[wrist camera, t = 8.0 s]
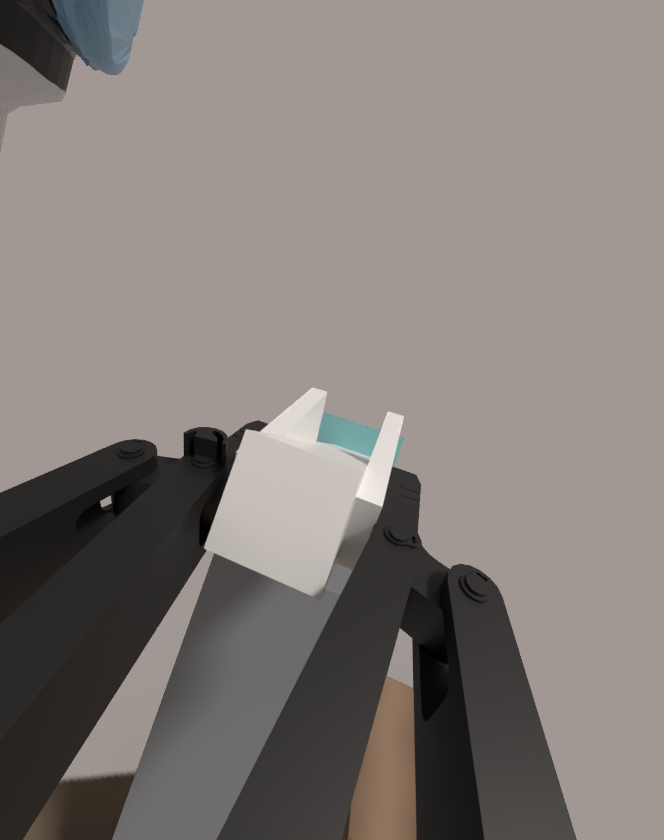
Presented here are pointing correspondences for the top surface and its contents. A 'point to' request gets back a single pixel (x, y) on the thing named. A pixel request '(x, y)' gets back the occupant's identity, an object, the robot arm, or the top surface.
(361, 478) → the bar
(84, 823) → the top surface
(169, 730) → the tower
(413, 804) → the tall wooden pillar
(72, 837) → the top surface
